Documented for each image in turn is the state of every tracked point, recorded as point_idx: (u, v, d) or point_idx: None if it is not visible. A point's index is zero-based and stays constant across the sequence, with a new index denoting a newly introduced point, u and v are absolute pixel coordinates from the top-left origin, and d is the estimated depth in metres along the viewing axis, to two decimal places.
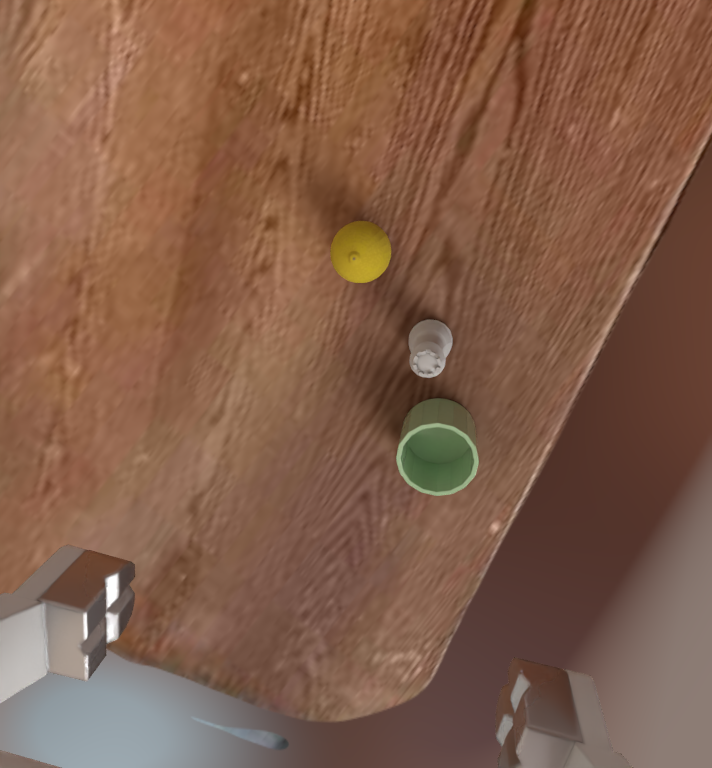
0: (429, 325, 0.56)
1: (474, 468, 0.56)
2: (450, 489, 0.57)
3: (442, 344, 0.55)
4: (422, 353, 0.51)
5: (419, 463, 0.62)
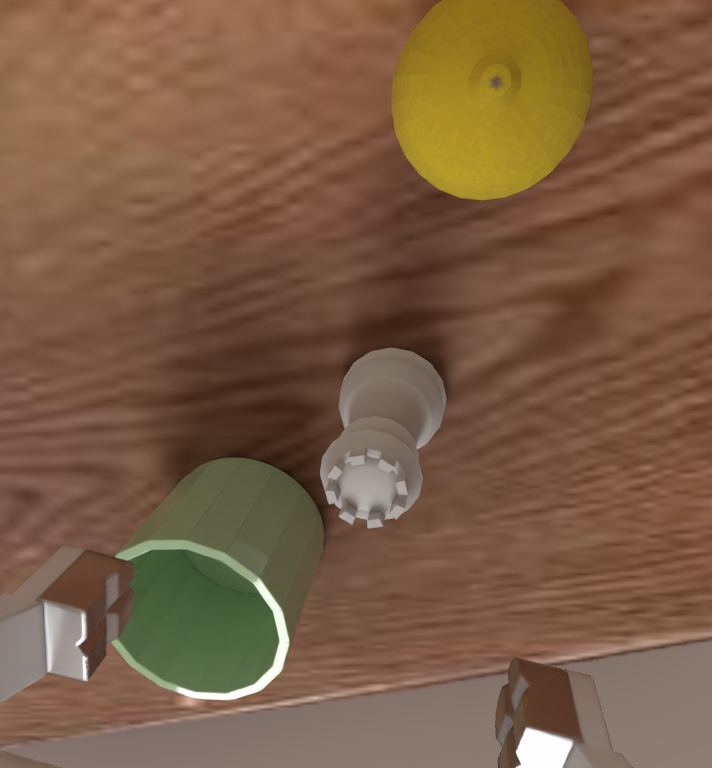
0: (426, 383, 0.22)
1: (242, 691, 0.23)
2: (165, 676, 0.24)
3: None
4: (382, 465, 0.17)
5: (164, 552, 0.27)
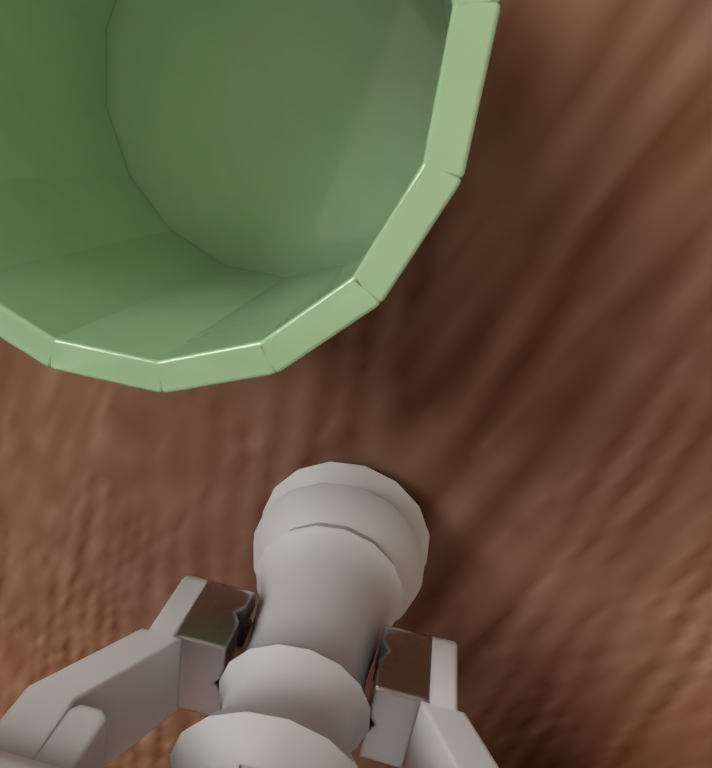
0: None
1: None
2: None
3: None
4: None
5: None
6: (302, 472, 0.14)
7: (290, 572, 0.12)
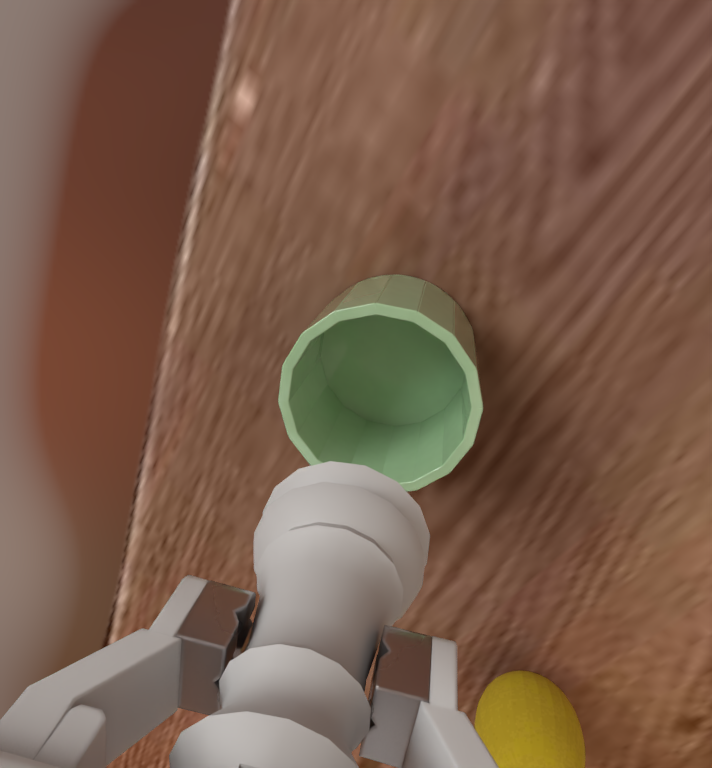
0: None
1: (285, 385, 0.23)
2: None
3: None
4: None
5: None
6: (302, 472, 0.14)
7: (290, 571, 0.12)
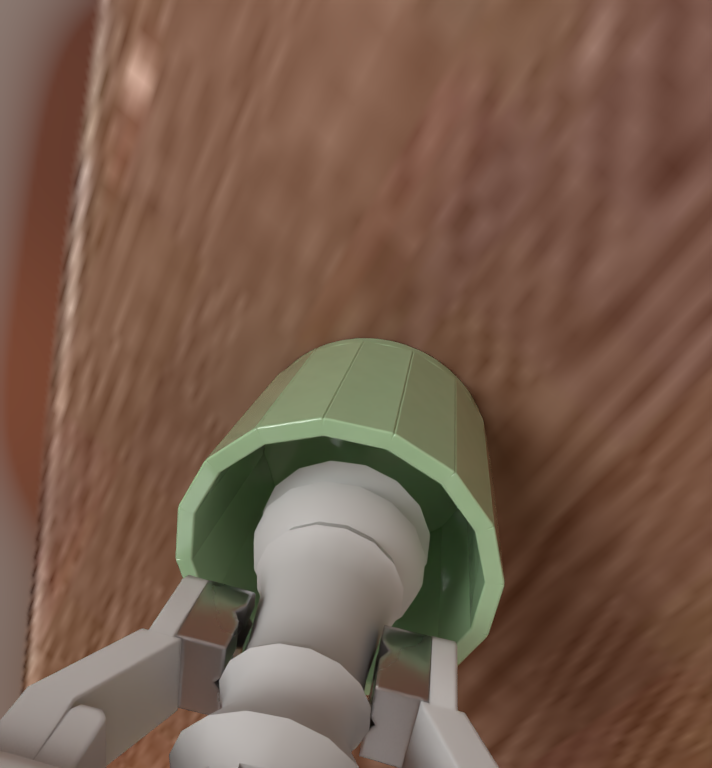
0: None
1: (185, 536, 0.14)
2: None
3: None
4: None
5: None
6: (302, 471, 0.14)
7: (290, 571, 0.12)
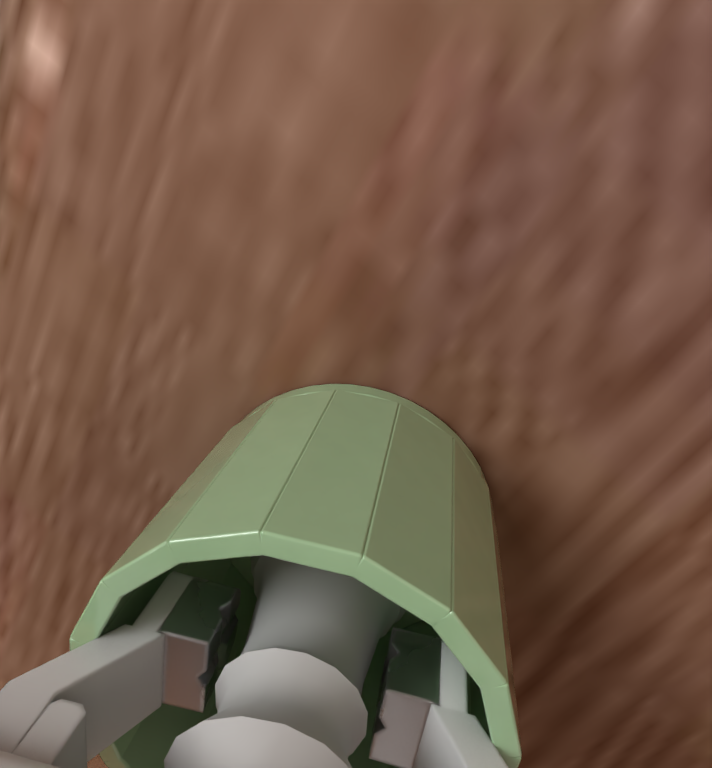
0: None
1: None
2: None
3: None
4: None
5: None
6: None
7: (287, 574, 0.12)
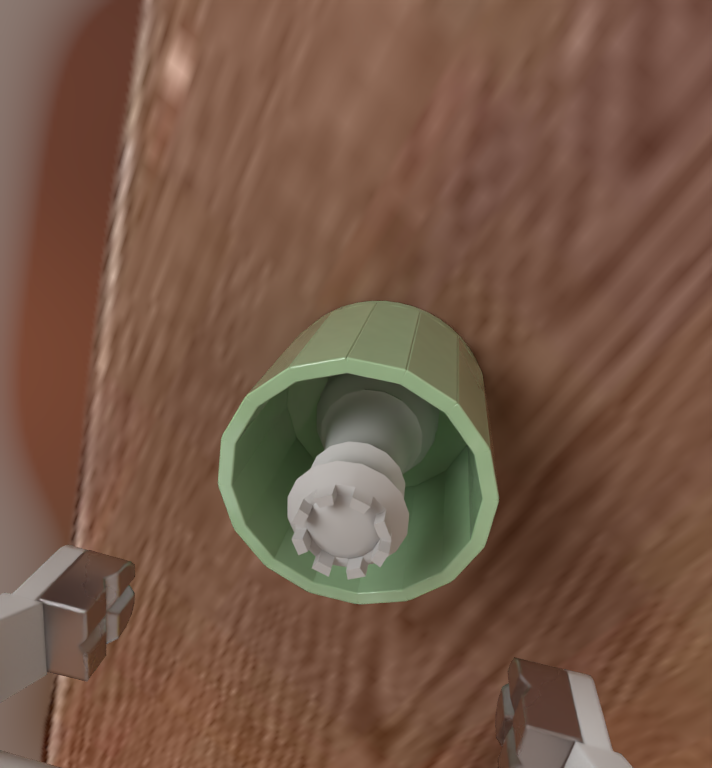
0: None
1: (227, 464, 0.16)
2: None
3: None
4: (357, 572, 0.14)
5: None
6: None
7: (348, 415, 0.18)
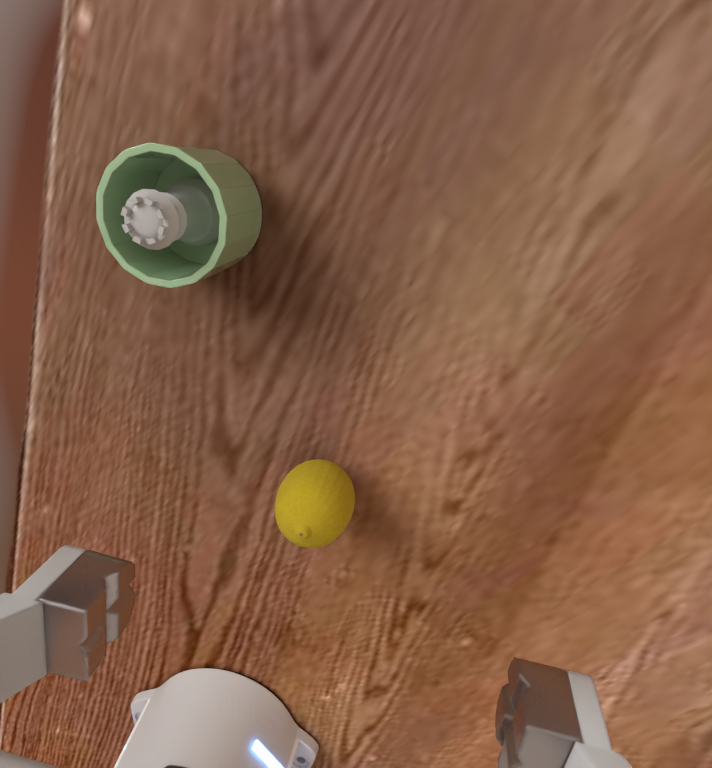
0: (195, 243, 0.37)
1: (100, 207, 0.33)
2: (129, 157, 0.32)
3: None
4: (152, 240, 0.31)
5: None
6: None
7: (169, 194, 0.35)
